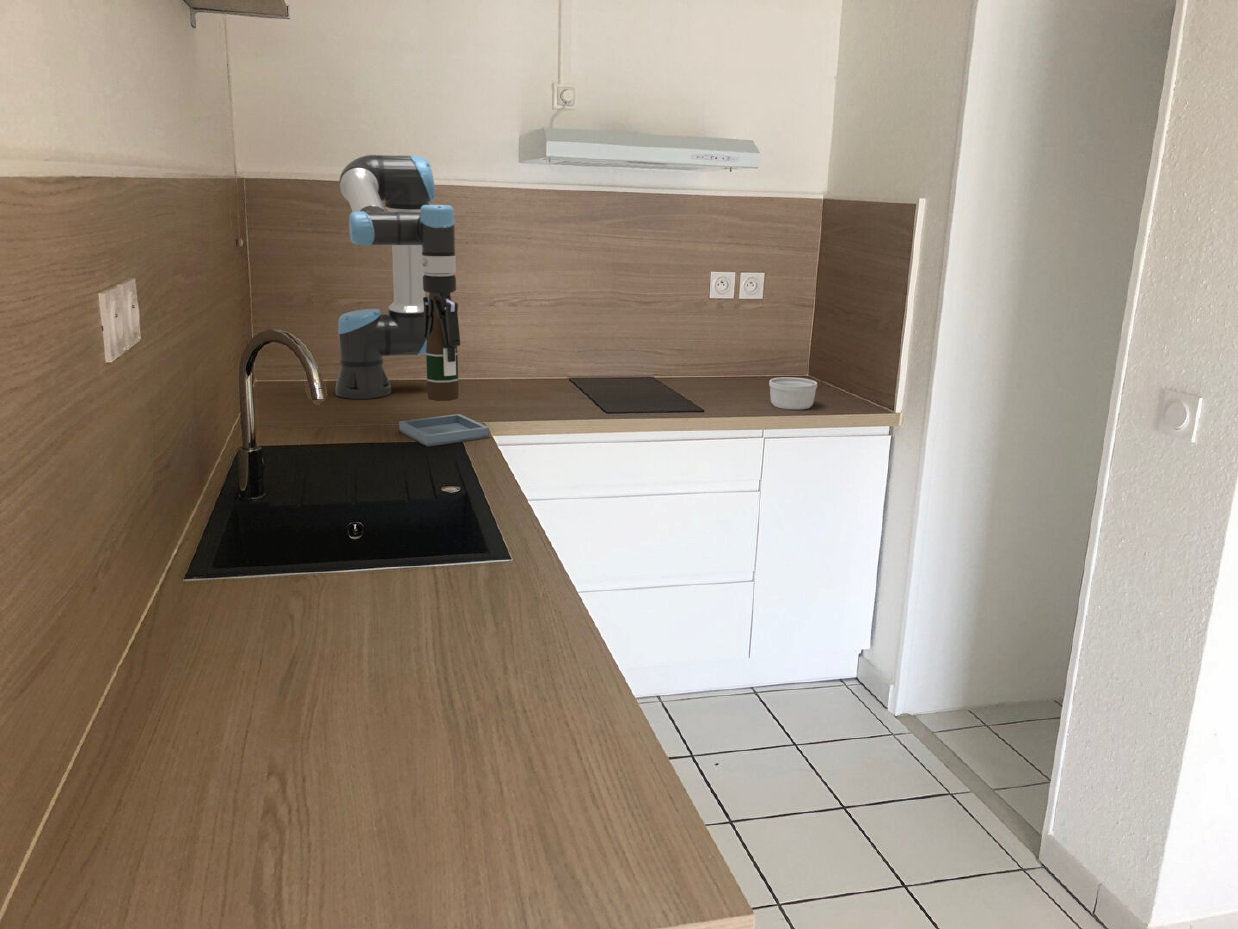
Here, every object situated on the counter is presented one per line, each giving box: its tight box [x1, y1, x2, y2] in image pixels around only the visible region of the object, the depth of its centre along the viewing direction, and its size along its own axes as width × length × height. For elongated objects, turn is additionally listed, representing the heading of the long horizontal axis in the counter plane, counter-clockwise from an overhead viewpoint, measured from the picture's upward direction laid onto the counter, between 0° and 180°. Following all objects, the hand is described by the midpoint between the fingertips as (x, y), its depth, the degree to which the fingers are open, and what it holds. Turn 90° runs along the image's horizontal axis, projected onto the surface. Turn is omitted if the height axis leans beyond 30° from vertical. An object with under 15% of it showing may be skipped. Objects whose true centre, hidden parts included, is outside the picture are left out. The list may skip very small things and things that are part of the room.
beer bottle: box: [425, 296, 459, 402], centre depth 229 cm, size 8×8×24 cm
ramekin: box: [768, 376, 818, 411], centre depth 273 cm, size 13×13×7 cm
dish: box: [398, 413, 490, 448], centre depth 235 cm, size 16×16×2 cm
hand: (442, 372), depth 231 cm, fingers closed on beer bottle, 8 cm apart
